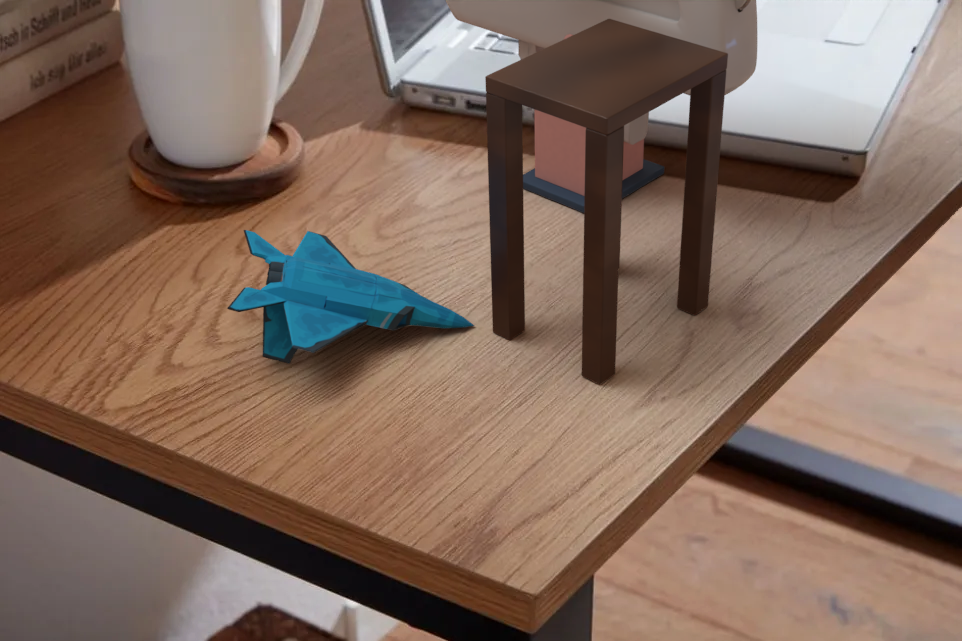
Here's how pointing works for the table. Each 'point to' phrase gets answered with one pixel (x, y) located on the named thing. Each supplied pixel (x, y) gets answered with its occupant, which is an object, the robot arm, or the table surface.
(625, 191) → the mat
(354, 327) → the toy airplane
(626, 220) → the table surface
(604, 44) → the wooden stool
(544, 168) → the pink block
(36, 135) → the table surface
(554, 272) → the table surface
